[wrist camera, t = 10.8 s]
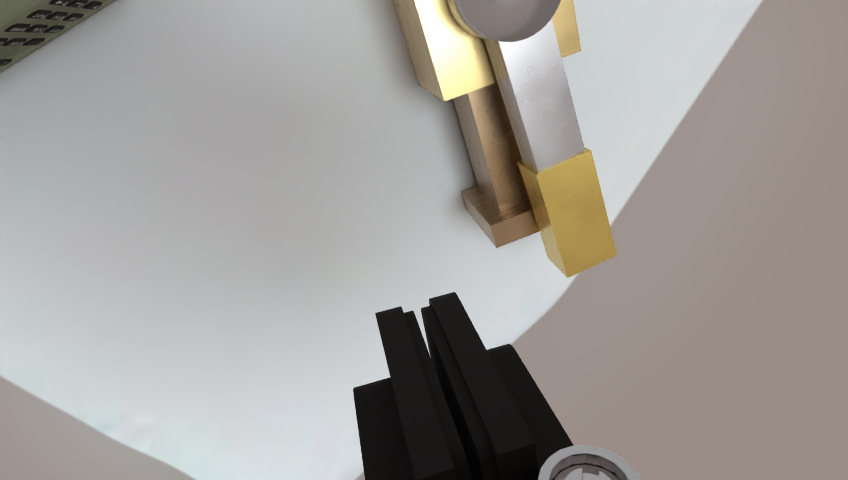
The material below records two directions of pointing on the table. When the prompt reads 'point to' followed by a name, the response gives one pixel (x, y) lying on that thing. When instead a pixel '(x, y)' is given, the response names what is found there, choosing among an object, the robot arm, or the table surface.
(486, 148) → the valve body
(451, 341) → the robot arm
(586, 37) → the table surface
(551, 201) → the lever
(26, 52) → the handheld radio
